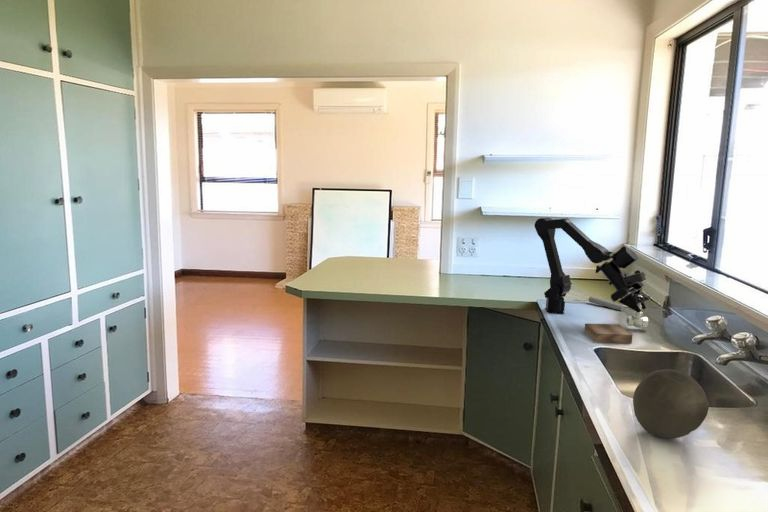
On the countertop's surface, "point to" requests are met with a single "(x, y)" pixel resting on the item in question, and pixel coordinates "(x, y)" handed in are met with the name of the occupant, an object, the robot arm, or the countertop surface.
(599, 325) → the walnut plinth
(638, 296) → the valve
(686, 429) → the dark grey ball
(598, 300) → the kitchen whisk
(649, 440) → the countertop surface
